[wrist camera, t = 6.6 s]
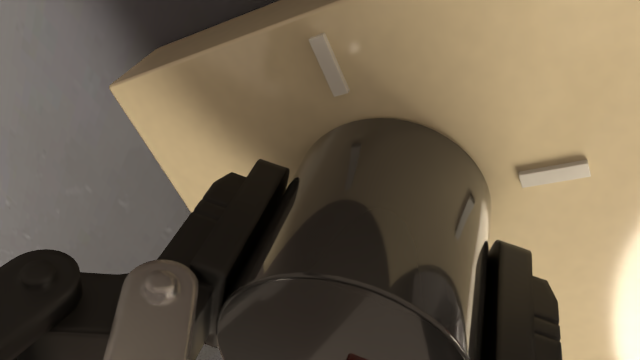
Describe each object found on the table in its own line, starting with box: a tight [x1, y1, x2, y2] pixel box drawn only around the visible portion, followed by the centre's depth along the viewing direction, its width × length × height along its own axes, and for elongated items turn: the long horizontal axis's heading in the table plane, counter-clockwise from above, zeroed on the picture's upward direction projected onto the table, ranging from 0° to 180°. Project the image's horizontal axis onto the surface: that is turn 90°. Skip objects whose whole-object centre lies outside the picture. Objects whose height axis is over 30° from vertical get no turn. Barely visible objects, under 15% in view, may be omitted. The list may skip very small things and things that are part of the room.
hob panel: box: [109, 0, 640, 360], centre depth 16 cm, size 16×12×3 cm
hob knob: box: [216, 118, 492, 360], centre depth 12 cm, size 5×5×5 cm
